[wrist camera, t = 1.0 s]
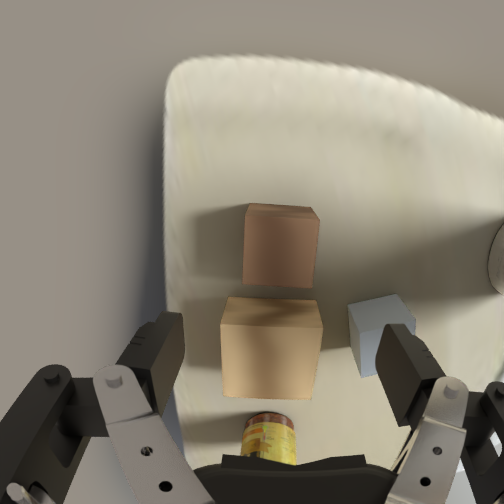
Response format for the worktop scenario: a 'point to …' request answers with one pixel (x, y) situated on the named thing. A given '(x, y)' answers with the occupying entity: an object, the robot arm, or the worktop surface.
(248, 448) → the sauce bottle
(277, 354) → the oak block
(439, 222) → the worktop surface
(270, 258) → the walnut cube
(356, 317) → the slate-blue cube
